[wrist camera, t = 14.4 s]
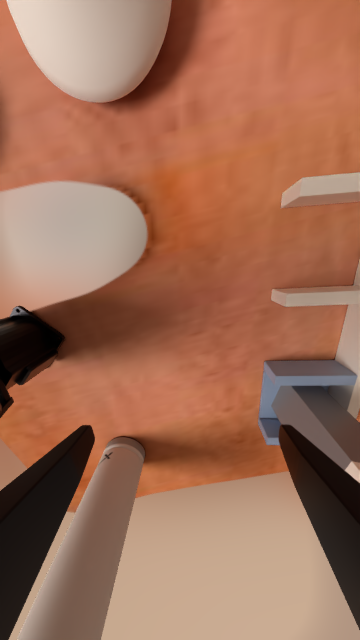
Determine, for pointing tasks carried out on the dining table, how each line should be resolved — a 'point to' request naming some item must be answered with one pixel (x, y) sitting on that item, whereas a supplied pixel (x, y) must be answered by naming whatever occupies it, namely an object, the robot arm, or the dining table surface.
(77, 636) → the travel mug
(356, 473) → the grey tall block
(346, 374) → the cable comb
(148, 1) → the flower in vase
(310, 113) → the dining table surface
